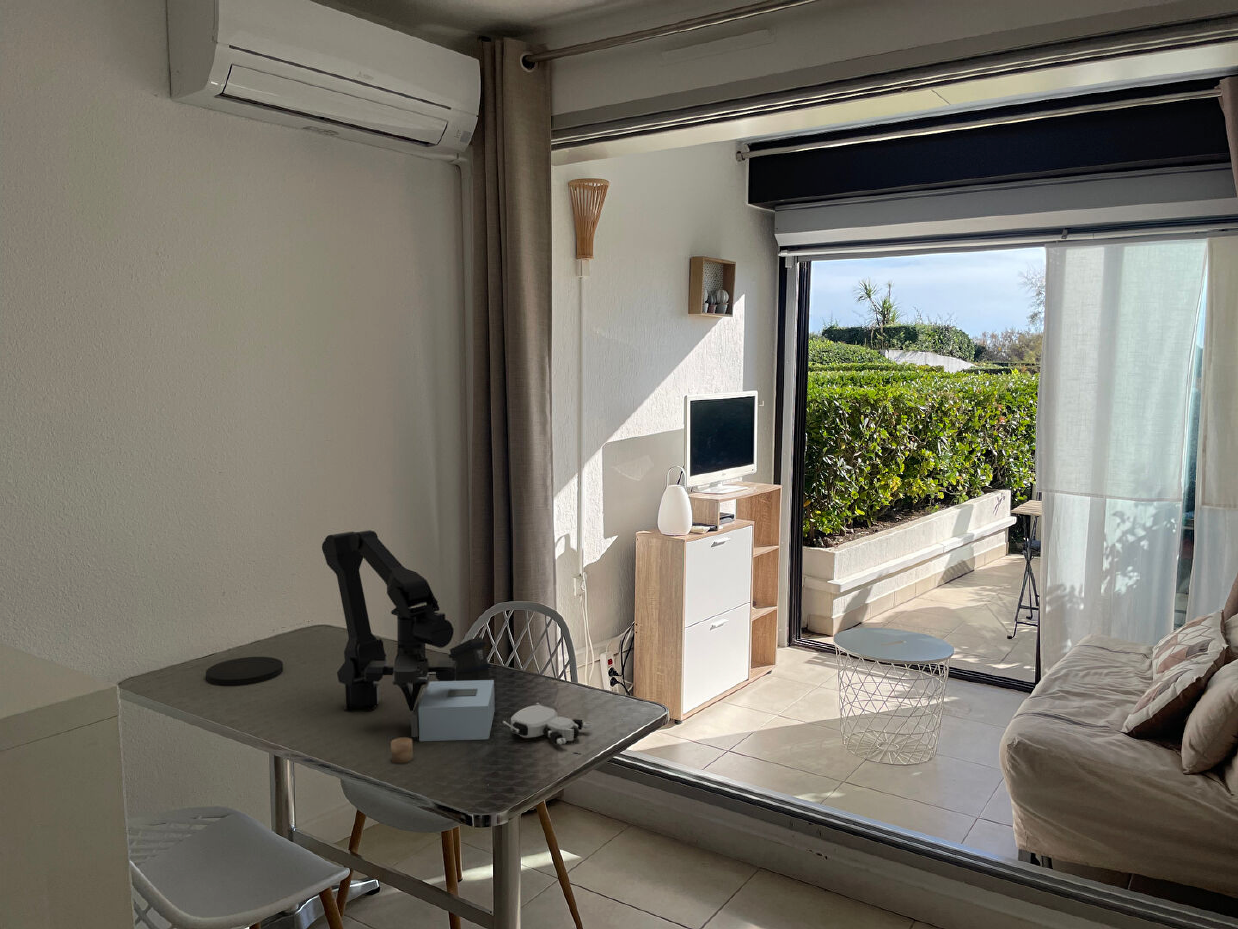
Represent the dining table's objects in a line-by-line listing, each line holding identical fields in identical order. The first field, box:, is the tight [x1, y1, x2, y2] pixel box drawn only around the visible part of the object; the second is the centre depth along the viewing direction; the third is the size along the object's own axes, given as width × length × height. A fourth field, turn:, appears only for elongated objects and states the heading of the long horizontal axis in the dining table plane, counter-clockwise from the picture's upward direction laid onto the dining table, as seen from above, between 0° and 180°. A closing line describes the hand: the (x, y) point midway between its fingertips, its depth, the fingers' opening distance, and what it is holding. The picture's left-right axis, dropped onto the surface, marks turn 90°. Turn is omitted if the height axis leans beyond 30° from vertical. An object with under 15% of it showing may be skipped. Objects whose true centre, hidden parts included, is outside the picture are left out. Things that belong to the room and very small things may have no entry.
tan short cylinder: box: [390, 736, 414, 764], centre depth 179 cm, size 4×4×4 cm
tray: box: [410, 686, 428, 738], centre depth 196 cm, size 14×17×4 cm
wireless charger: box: [205, 656, 284, 687], centre depth 231 cm, size 18×18×2 cm
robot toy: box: [502, 702, 591, 745], centre depth 191 cm, size 12×4×15 cm
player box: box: [418, 679, 496, 742], centre depth 196 cm, size 14×16×7 cm
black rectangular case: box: [448, 636, 492, 681], centre depth 211 cm, size 4×13×15 cm, turn 40°
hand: (412, 710), depth 196 cm, fingers closed
